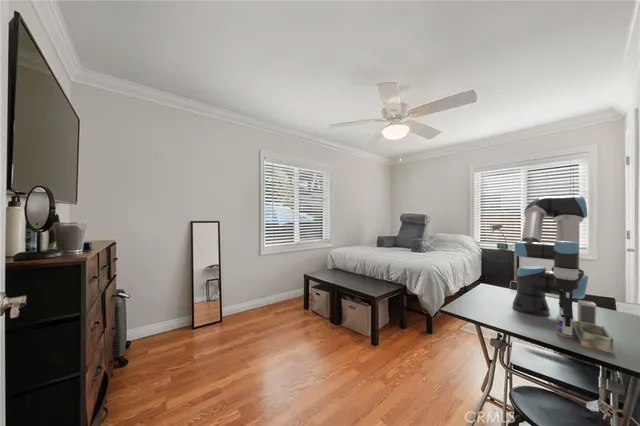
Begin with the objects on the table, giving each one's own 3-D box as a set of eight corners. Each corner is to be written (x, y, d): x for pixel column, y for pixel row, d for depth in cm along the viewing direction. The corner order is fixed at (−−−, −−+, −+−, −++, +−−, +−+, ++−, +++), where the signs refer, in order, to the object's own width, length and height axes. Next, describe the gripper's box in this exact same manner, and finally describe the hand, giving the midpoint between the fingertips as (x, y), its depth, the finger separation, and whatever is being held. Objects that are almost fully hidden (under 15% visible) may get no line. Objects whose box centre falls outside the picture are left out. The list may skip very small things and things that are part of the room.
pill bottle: (552, 332, 109) (553, 309, 109) (564, 332, 110) (564, 309, 110) (566, 338, 104) (566, 314, 104) (578, 338, 104) (578, 314, 104)
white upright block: (579, 325, 112) (579, 302, 112) (577, 321, 116) (577, 299, 116) (596, 328, 108) (596, 305, 109) (593, 324, 113) (593, 302, 113)
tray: (581, 345, 98) (582, 332, 98) (572, 324, 117) (572, 313, 117) (613, 353, 93) (613, 339, 93) (598, 329, 112) (598, 318, 112)
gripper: (583, 285, 95) (583, 342, 94) (574, 274, 114) (573, 322, 114) (556, 281, 100) (555, 336, 99) (551, 272, 119) (550, 317, 118)
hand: (565, 328), depth 106 cm, fingers open, 13 cm apart
